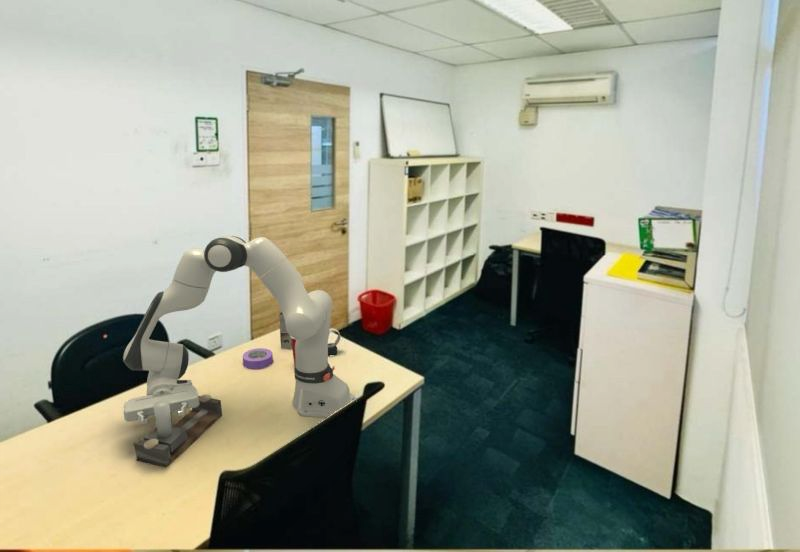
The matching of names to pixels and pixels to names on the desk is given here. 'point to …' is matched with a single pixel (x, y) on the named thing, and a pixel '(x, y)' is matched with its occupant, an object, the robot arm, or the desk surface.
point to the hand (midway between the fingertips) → (163, 418)
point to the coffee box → (284, 334)
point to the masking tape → (253, 363)
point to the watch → (333, 344)
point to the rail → (193, 422)
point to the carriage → (166, 427)
